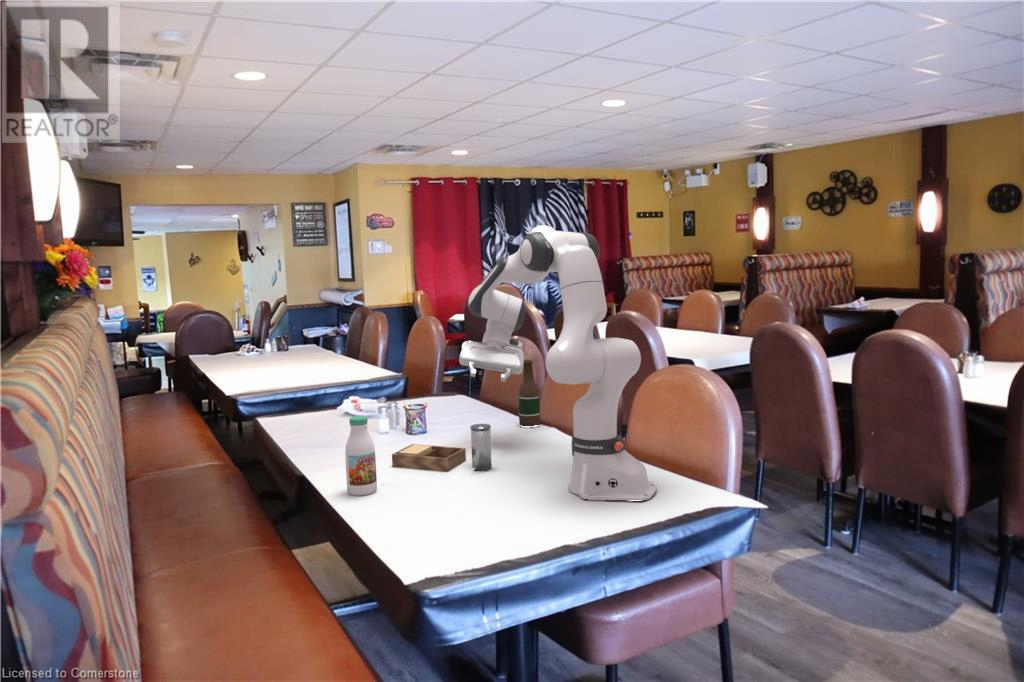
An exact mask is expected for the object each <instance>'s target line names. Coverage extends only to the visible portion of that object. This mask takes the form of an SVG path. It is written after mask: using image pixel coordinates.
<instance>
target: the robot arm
mask: <svg viewBox="0 0 1024 682" xmlns="http://www.w3.org/2000/svg"><path fill="white" fill-rule="evenodd" d="M599 257H600V246H599V243H598V241H597V239H596V237H595V236H594V235H593V234H591V233H589V232H583V231H579V232H574V231H563V230H556V229H555V228H553V227H552V226H549V225H546V224H541V225H537V226H535V227H534V228H532V229H531V230H530V231H529V233H528V234H526V235H525V236H524V237H523V239H522V241H521V244H520V246H519V248H518V250H517V251H516V252H515V253H512V254H511V255H508V256H503V257H501V258H500V259H499V260H498V261H497V263H496V264H495V265H494V266H493V267H492V269H490V271H489V272H488V273H487V275H486V276H485V277H484V278H483V279H482V281H481V282H480V283H479V284H478V285H476V286H475V288H474V289H473V290H472V291H471V292H470V295H469V298H468V304H467V307H468V309H469V312H470V313H471V314H472V315H473V316H476V317H479V318H485V319H487V322H486V325H485V329H486V330H485V331H484V333H483V337H482V340H481V341H482V342H481V341H473V340H467V341H464V342H462V344H461V351H460V354H459V358H458V360H459V361H458V362H459V364H460V365H461V366H465V367H468V369H469V372H470V375H469V376H470V377H472V378H475V377H476V374H477V369H474V368H478V369H483V370H488V371H489V370H491V371H496V372H502V373H501V376H500V382H503V383H506V380H507V379H508V378H509V377H510V376H511V374H512V375H518V376H519V375H521V374H522V373H523V372H524V364H523V363H524V360H525V354H524V350H523V349H524V347H523V343H522V342H521V341H519V340H516V339H514V338H513V337H511V336H512V334H513V333H514V332H516V331H518V330H519V329H521V327H522V325H523V324H524V320H525V317H526V311H527V306H526V303H525V301H524V300H523V299H521V298H520V297H517V296H514V295H512V294H510V293H509V294H508V293H506V292H503V291H501V290H497V289H496V288H497V287H498V286H499V285H500V284H502V283H515V284H522V285H535V284H538V283H540V282H542V281H543V280H544V279H546V277H547V276H548V275H549V273H550V272H554V273H557V274H558V279H559V288H560V294H561V303H562V312H563V323H562V329H561V331H560V334H559V337H558V338H557V340H556V341H555V343H554V344H553V345H552V346H551V347H550V348H549V349H548V351H547V354H546V357H545V369H546V372H547V375H549V377H550V378H551V380H552V381H553V382H555V383H557V384H564V385H581V384H583V385H584V384H590V386H589V388H588V389H587V391H586V393H585V394H584V395H583V396H581V397H580V398H579V399H577V400H576V401H575V403H574V405H573V408H572V419H573V421H572V423H573V427H572V428H573V429H572V431H573V434H572V435H571V453H572V465H571V466H572V469H571V474H570V475H571V476H570V480H569V484H568V487H567V488H568V489H567V490H568V491H570V492H571V493H572V494H574V495H577V496H578V497H580V498H581V499H582V498H583V499H582V500H584V499H588V500H587V501H605V500H641V501H642V500H646V499H648V498H650V497H652V496H653V495H654V494H655V492H656V493H657V491H656V489H657V485H656V483H655V482H653V481H649V479H648V473H647V470H646V467H645V465H644V464H643V463H642V462H641V461H640V460H638V458H636V457H634V456H633V455H632V454H631V453H629V452H628V451H627V450H626V449H625V444H626V443H625V442H626V437H625V436H624V437H623V438H622V437H621V436H620V435H618V433H617V430H618V427H617V423H618V422H617V420H618V407H619V401H620V398H621V395H622V393H623V390H624V389H625V387H626V385H627V383H628V382H629V381H630V379H631V378H632V377H633V376H635V375H636V374H637V372H638V371H639V369H640V366H641V362H642V355H641V354H642V353H641V351H640V349H639V347H638V345H637V344H636V343H635V342H634V341H633V340H631V339H627V338H621V337H605V338H594V337H593V336H594V335H593V334H594V333H593V331H594V327H595V326H596V325H598V324H599V323H601V322H602V321H603V320H604V318H606V315H607V312H608V306H607V305H608V304H607V301H606V300H607V299H606V295H605V293H606V292H605V287H604V282H603V278H602V277H603V275H602V271H601V269H600V266H599V262H598V260H599ZM657 490H658V489H657ZM655 495H656V494H655ZM655 495H654V496H655ZM654 496H653V497H654ZM653 497H652V498H653Z"/></svg>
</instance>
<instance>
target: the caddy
mask: <svg viewBox="0 0 1024 682" xmlns="http://www.w3.org/2000/svg"><path fill="white" fill-rule="evenodd" d="M413 445H419V444H418V443H415V444H414V443H411V444H410V445H408V446H405V447H404V448H401V449H399V450H398V451H394V452H393V453H392V454H391V461H392V462H391V464H392V468H400V469H402V468H403V469H410V470H411V469H412V470H420V471H421V470H422V471H432V472H433V471H434V472H443V473H448V472H450V471H452V470H454V469H455V468H457V467H458V466H460V465H461V464H463V463H464V462H466V461H467V455H466V454H467V453H466V451H467V449H466V447H455V446H454V447H453V446H443V445H442V446H441V445H440V446H439V445H428V444H424V445H425V446H432V451H430V452H428V453H426V454H424V455H423V456H415V455H404V454H399V452H401V451H403V450H405V449H407V448H409V447H411V446H413Z"/></svg>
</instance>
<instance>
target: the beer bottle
mask: <svg viewBox="0 0 1024 682" xmlns="http://www.w3.org/2000/svg"><path fill="white" fill-rule="evenodd" d="M533 361H534V360H533V359H524V363H523V372H522V373H523V377H522V378H523V379H522V382H521V384H520V386H519V389H518V395H517V396H518V422H519V423H518V424H519V426H520V425H522V426H534V425H541V413H540V412H541V411H540V409H541V406H540V391H539V388H538V385H537V384H536V383H535V378H534V369H533V367H534V366H533V364H534V362H533Z"/></svg>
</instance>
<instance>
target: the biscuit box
mask: <svg viewBox="0 0 1024 682" xmlns="http://www.w3.org/2000/svg"><path fill="white" fill-rule="evenodd" d="M425 445H426V444H418V445H413V446H411V447H409V448H407V449H405V450H403V451H401V452H399V454H404V455H415V456H423V455H424V454H426V453H428V452H430V451H432V446H433V445H430V446H425Z"/></svg>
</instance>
